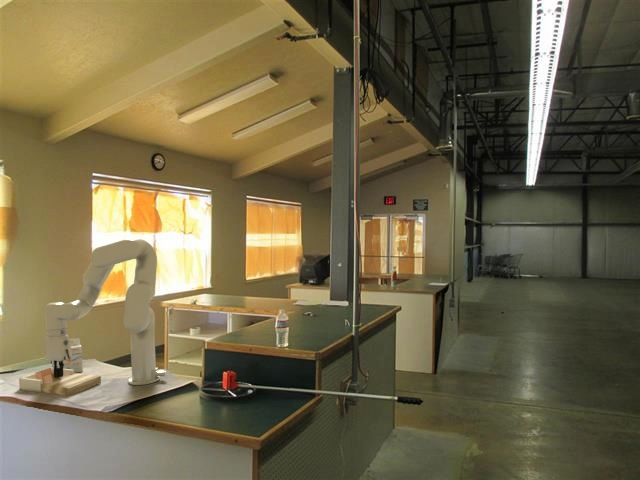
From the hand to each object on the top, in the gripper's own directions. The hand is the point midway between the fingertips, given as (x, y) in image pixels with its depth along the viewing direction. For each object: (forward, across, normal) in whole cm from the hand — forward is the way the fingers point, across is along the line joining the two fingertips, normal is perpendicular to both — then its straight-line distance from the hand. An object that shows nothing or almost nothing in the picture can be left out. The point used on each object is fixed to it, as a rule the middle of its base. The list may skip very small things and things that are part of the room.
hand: (58, 376), depth 203 cm
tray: (+4, +7, 0) cm, 8 cm away
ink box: (+4, +12, -17) cm, 21 cm away
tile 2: (+2, +3, 0) cm, 4 cm away
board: (+4, -7, 0) cm, 8 cm away
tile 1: (0, +6, 0) cm, 7 cm away
